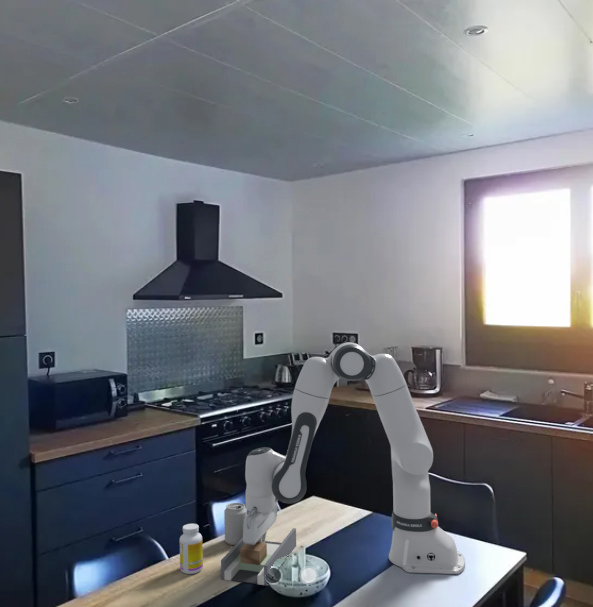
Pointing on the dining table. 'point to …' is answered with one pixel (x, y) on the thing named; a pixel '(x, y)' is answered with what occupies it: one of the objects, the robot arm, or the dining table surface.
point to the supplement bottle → (191, 549)
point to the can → (234, 522)
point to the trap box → (251, 572)
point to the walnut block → (253, 553)
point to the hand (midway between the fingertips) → (260, 547)
